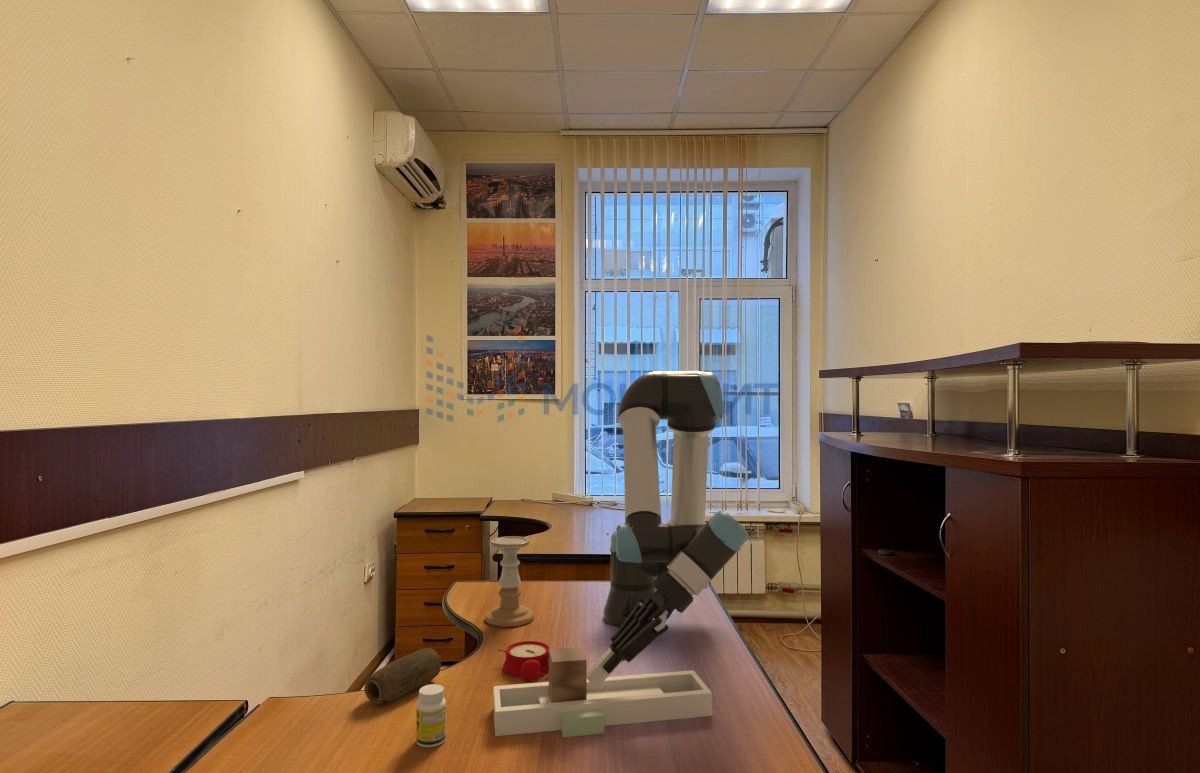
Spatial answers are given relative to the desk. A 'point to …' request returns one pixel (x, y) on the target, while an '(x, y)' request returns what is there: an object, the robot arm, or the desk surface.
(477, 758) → the desk surface
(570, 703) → the board
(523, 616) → the candle holder
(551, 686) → the walnut block
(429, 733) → the supplement bottle
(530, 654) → the alarm clock
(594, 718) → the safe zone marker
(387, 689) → the hollow wooden log
